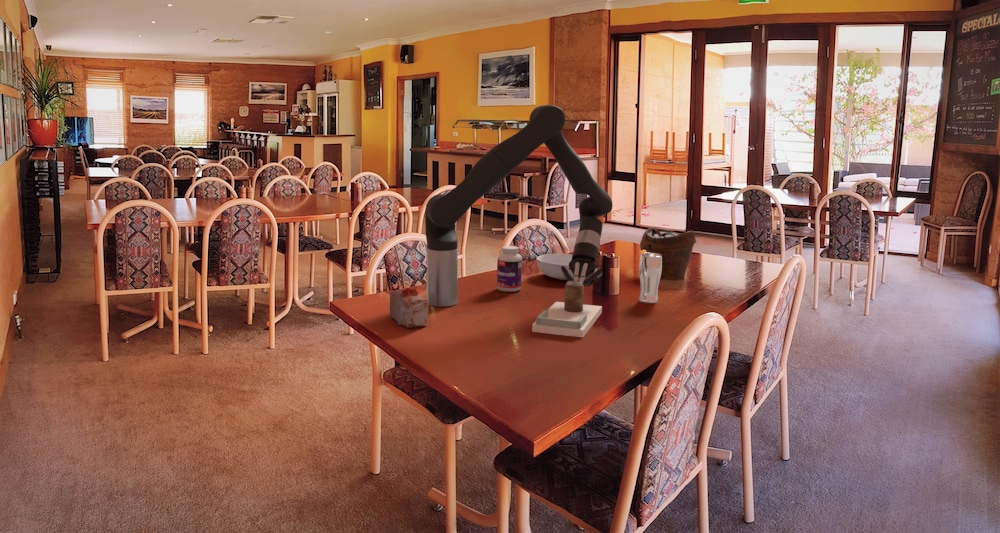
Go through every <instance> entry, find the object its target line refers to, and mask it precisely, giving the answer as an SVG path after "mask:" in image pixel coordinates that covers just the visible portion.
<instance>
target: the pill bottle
mask: <svg viewBox="0 0 1000 533" xmlns="http://www.w3.org/2000/svg"><path fill="white" fill-rule="evenodd" d="M519 251H520V250H519V246H515V245H504V246H502V247H501V253H500V254H498V256H497V271H496V272H497V274H496V275H497V276H496V277H497V278H496V288H497V290H499V291H501V292H505V293H515V292H518V291H520V290H521V289H522V270H523V257H522V255H521V254H520V253H519Z"/></svg>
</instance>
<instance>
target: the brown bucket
mask: <svg viewBox="0 0 1000 533" xmlns="http://www.w3.org/2000/svg"><path fill="white" fill-rule="evenodd" d="M639 243H640V244H639V247H640V251H644V250H645V253H657V254H661V255H662V272H661V277H660V279H663V280H664V279H665V280H681V279H684V278H685V277H686V272H687V271H688V270H687V269H688V266H689V263H690V259H691V256H692V253H693V248H694V245H695V244H696V243H697V240H696V233H695V232H694V230H688V231H686V232H681V233H678V232H674V231H671V230H667V229H663V228H657V227H650V228H647V229H646V230H645V231H644V233H643V235H642V237H641V240H640V241H639Z"/></svg>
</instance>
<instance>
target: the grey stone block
mask: <svg viewBox="0 0 1000 533" xmlns="http://www.w3.org/2000/svg"><path fill="white" fill-rule="evenodd" d="M429 313H430V312H429V306H428V300H427V298H424V297H422V296H420V294H419V292H418V291H417V289H415V288H413V289H412V288H410V287H409V288H408V287H407V288H406V289H405V288H404V289H396V290H393V291H390V293H389V317H390V319H393V320H395V321H396V323H397V325H400V326H401V325H402V326H404V327H406V328H407V329H408V328H409V329H416V328H424V327H428V315H429Z"/></svg>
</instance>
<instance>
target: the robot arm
mask: <svg viewBox="0 0 1000 533" xmlns="http://www.w3.org/2000/svg"><path fill="white" fill-rule="evenodd" d="M528 121H529V122H528V123H527V124H526V125H525V126H524V127H523V128H522V129H520V130H519V131H518V132H516V133H515V134H513V135H512V136H509V137H508V138H506V139H504V140H502V141H501V142H500V143H497V144H496V145H494V146H493V147H492V148H491V149H489V151H487V152H486V153H484V155H483V156H482V157H480V159H478V161H476V163H475V164H473V166H472V168H471V169H470V170H469V172H468V174H467V175H466V176H465V177H464V179H462V181H461V182H460V183H458V184H457V186H455V187H454V188H452V189H451V190H450V191H449V192H447V193H445V194H442V193H441V194H440V193H439V194H435V195H433V196H431V197H430V198H429V199H428V201H427V203H426V205H425V209H424V211H425V212H424V213H425V214H424V217H425V219H424V221H425V223H424V225H425V239H426V250H427V251H426V257H427V258H426V259H427V260H426V266H427V267H426V268H427V269H426V271H425V272H426V274H425V275H426V277H425V278H426V280H425V281H426V299H427V300H428V307H430V306H431V307H432V306H433V307H451V306H455V305H457V304H458V265H459V264H458V260H459V259H458V257H459V256H458V250H459V249H458V247H459V245H458V237H457V234H456V223H457V222H458V221H459V220H460V219H461V218H462V217H463V216H464V215H465V214H466V213H467V212H468V210H469V209H470V208H471V207H472V206H473V205H474V204H475V203H476V202H477V201H478V200H480V199H481V198H482V197H484V196H485V195H487V193H489V192H490V191H492V189H493V188H494V187H496V186H497V185H498V184H499V183H501V182H502V181H503V180H504V179H506V177H508V176H509V175H510V174H511V173H512V172H513V171H514V170H516V169H517V168H518V167H519V166H520V165H521V164H522V163H523V162H524V161H525V160H527V158H528V157H529V156H530V155H532V153H533V152H534V151H536V150H537V149H538V148H539V147H541V146H542V145H545V147H546V148H547V149H548V151H549V152H550V154H551V155H552V156H553V158H554V159H555V161H556V162H557V164H558V166H559V167H560V170H561V171H562V172H563V174H564V177H565V178H566V179H567V181H568V183H569V184H570V187H571V188H572V189H573V191H574V193H575V194H577V195H587V197H585V198H583V199H582V200H581V201H580V203H579V206H578V212H579V224H580V225H579V229H578V233H577V236H576V239H575V241H574V242H575V243H574V247H573V251H572V254H573V255H572V260H571V261H570V262H569V265H568V266H566V267H564V266H562V267H561V270H562V273H563V275H564V276H565V278H566V280H565V281H567V282H568V281H580V282H582V284H583V285H584V288H585V287H587V288H588V287H591V286H592V285H593V284H595V283H596V282H597V281H598V280H599V279H601V278H602V277H603V272H602V269H599V268H598V266H597V260H598V257H599V252H600V249H601V248H600V246H601V237H602V233H603V227H604V226H603V222H602V220H601V219H600V218H599V217H602V216H606V215H608V214H610V212H611V211H612V209H613V200H612V198H611V196H610V195H609V194H608V192H607V191H606V190H605V189H604V188H603V187H601V185H600V184H599V183H598V182H596V180H595V179H594V178H593V176H592V174H591V172H590V170H589V169H588V167H587V165H586V164H585V163H584V161H583V159H582V158H581V157H580V156H579V155H578V153H577V152H576V151H575V150H574V149H573V148H572V147H571V145H570V144H569V143H568V141H567V140H566V138H565V137H564V134H563V132H562V129H563V128H564V127H565V123H566V114H565V112H564V110H563V108H561V107H559V106H557V105H554V104H544V105H539V106H536V107H535V108H534V109H532V111H531V113H530V115H529V120H528ZM569 270H571V271H572V273H573V275H574V279H572V277H571V276H570V274H569V272H570V271H569ZM580 277H581V278H580Z"/></svg>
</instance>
